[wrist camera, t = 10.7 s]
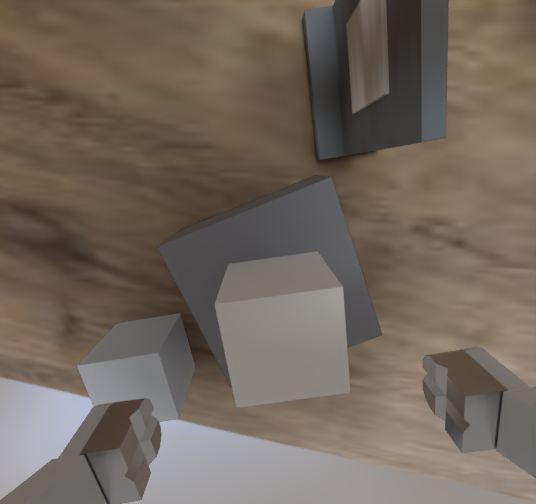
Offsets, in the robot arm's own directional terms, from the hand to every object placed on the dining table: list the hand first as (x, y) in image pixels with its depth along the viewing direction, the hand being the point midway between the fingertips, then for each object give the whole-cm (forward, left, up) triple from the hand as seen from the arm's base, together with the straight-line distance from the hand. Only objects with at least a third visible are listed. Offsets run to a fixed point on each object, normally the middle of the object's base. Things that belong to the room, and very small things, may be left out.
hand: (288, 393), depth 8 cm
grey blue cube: (+6, -10, -13) cm, 17 cm away
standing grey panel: (-10, +6, -13) cm, 18 cm away
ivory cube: (+1, 0, -8) cm, 8 cm away
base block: (0, 0, -13) cm, 13 cm away
